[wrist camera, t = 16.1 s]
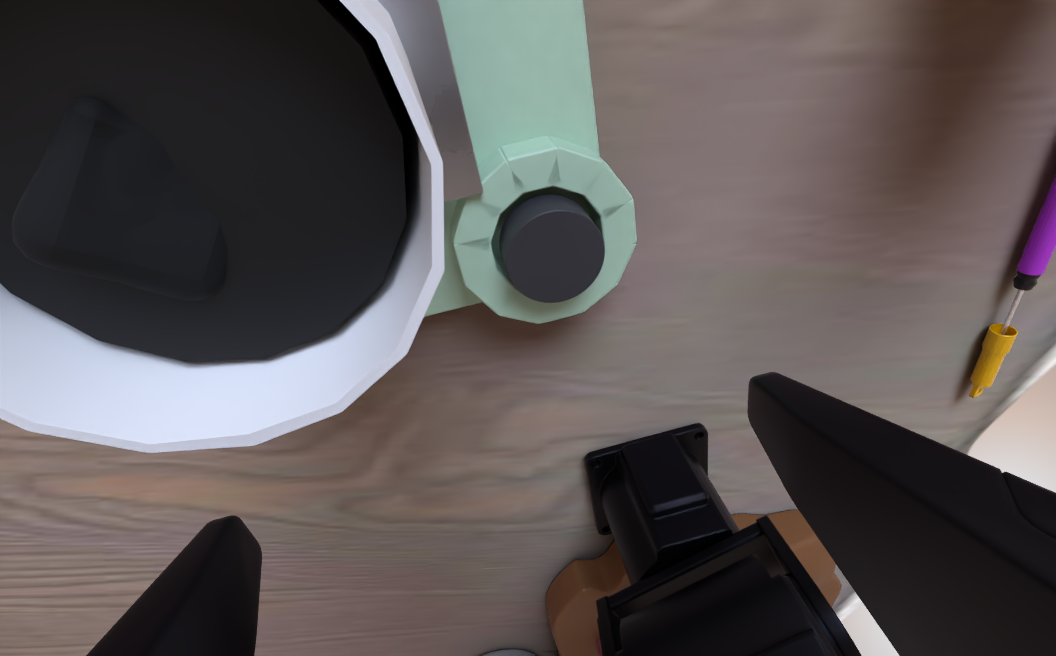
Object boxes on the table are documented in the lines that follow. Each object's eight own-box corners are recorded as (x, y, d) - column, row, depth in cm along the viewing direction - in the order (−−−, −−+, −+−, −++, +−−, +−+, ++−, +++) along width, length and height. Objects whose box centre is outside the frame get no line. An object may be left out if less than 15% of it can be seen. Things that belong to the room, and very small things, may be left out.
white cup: (351, 245, 17) (290, 510, 8) (105, 108, 14) (-381, 307, 5) (477, 49, 14) (565, 140, 6) (216, -165, 11) (-323, -571, 3)
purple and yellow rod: (1082, 90, 22) (957, 392, 31) (1119, 95, 21) (979, 404, 30) (1122, 77, 22) (988, 375, 31) (1160, 80, 21) (1011, 387, 30)
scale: (616, 263, 22) (642, 298, 20) (315, 339, 22) (303, 385, 19) (566, -222, 14) (599, -265, 12) (86, -123, 14) (13, -147, 11)
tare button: (597, 269, 19) (610, 290, 18) (509, 291, 19) (516, 313, 18) (585, 182, 18) (599, 198, 16) (489, 206, 17) (495, 224, 16)
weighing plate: (483, 189, 17) (484, 193, 16) (237, 250, 16) (234, 253, 16) (396, -172, 12) (396, -175, 12) (49, -100, 12) (41, -102, 11)
